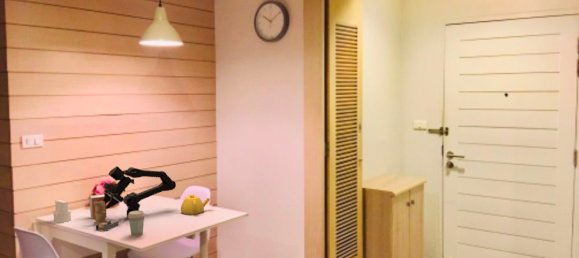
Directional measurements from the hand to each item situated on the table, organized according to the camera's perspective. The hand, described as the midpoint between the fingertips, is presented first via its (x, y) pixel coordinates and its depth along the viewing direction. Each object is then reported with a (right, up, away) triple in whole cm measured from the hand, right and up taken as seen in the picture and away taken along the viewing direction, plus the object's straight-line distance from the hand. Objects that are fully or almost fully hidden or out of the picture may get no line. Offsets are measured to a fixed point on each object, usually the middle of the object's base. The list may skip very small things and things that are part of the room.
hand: (103, 207), depth 269 cm
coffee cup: (+26, -11, -21) cm, 35 cm away
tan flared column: (-1, -9, 0) cm, 9 cm away
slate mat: (-1, -9, 0) cm, 9 cm away
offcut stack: (+5, -11, -12) cm, 17 cm away
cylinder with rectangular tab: (-26, -9, +5) cm, 28 cm away
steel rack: (+6, -10, -9) cm, 15 cm away
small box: (-8, -8, +13) cm, 17 cm away
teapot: (+48, -7, +24) cm, 54 cm away
